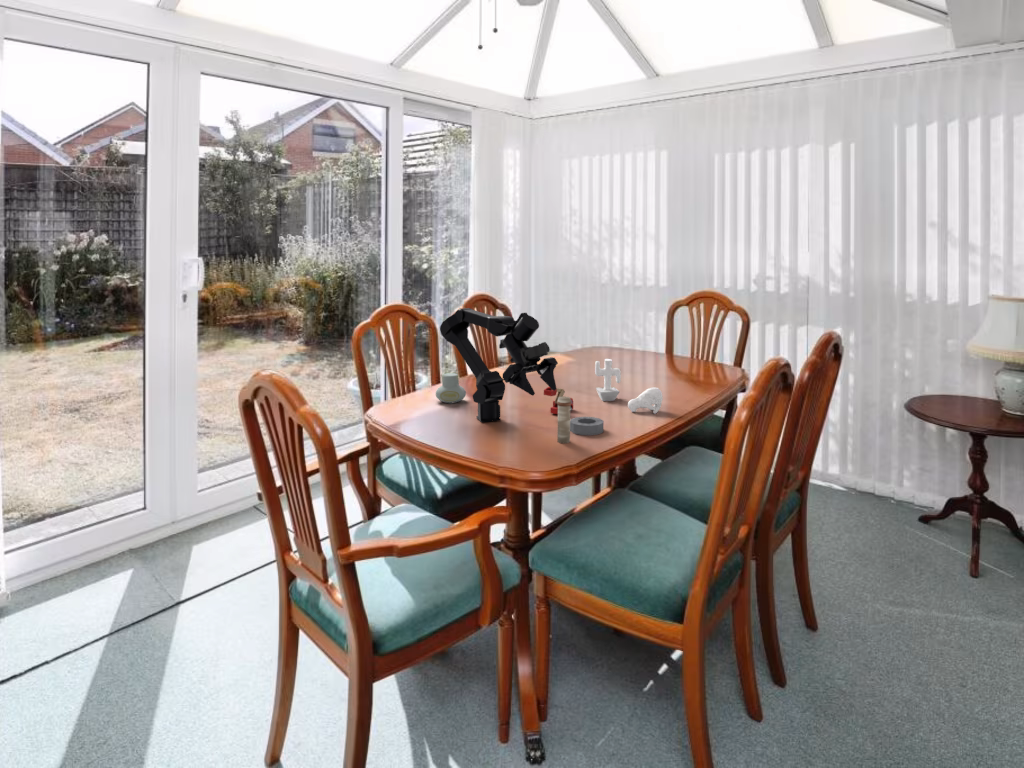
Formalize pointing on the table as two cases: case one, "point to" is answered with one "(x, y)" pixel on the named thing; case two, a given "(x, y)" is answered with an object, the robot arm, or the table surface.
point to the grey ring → (586, 425)
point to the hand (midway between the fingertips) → (544, 392)
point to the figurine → (607, 380)
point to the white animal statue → (647, 400)
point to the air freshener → (450, 389)
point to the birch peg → (563, 419)
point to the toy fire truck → (550, 392)
